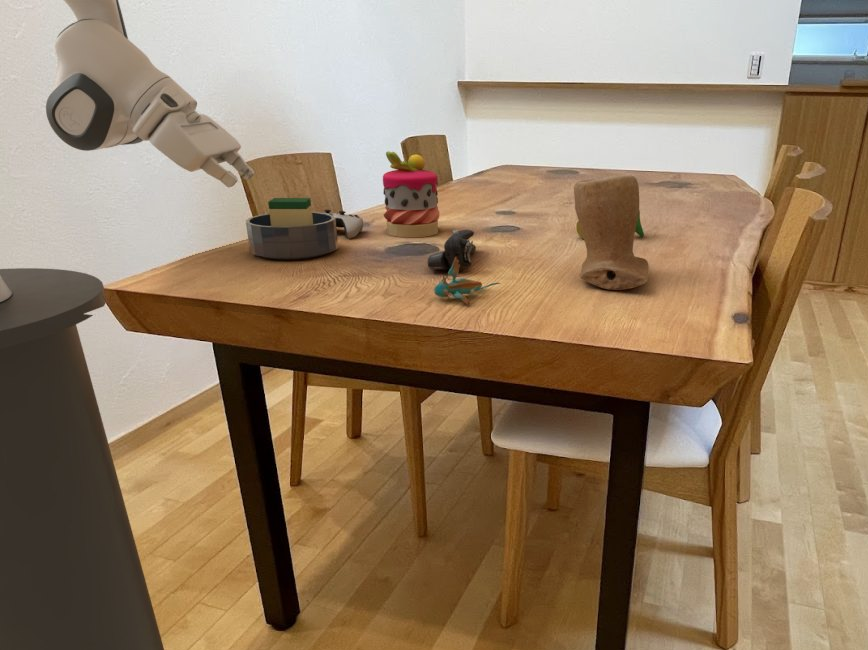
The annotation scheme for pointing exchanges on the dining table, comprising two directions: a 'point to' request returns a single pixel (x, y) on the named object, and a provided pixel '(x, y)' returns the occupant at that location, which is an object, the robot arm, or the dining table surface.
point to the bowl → (292, 238)
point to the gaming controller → (348, 223)
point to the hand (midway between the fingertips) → (243, 180)
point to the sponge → (290, 212)
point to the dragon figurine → (457, 285)
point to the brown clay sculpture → (610, 232)
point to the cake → (410, 198)
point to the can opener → (454, 251)
